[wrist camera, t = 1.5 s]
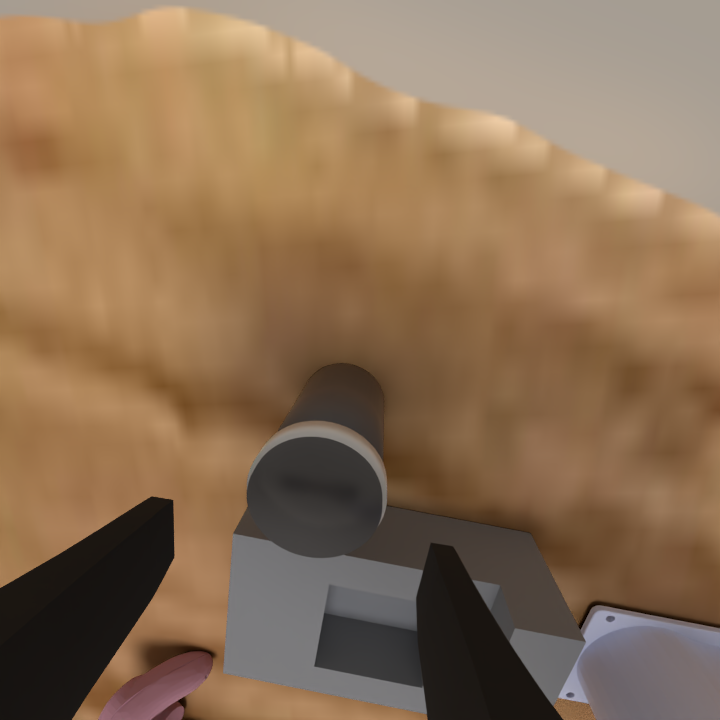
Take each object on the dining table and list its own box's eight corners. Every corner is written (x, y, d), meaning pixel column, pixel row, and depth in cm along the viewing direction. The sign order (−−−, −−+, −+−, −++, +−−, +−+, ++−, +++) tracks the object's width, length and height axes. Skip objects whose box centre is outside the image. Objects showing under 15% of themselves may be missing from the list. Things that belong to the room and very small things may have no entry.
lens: (394, 369, 18) (400, 454, 11) (378, 448, 20) (373, 573, 12) (305, 353, 18) (247, 426, 11) (295, 432, 20) (237, 547, 12)
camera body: (530, 533, 20) (586, 642, 15) (483, 651, 23) (515, 780, 18) (261, 482, 21) (213, 569, 15) (249, 605, 24) (205, 717, 18)
